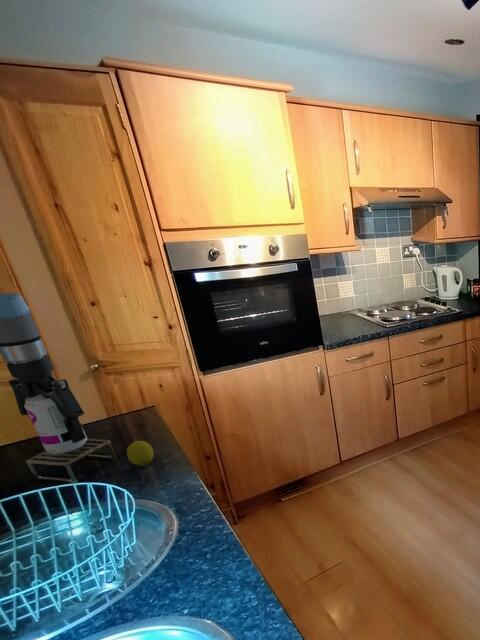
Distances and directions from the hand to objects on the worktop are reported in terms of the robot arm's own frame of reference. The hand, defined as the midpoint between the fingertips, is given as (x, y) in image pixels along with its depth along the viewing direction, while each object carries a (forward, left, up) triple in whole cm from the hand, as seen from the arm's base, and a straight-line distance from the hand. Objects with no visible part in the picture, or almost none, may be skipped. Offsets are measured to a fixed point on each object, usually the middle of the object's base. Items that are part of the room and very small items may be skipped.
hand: (64, 439), depth 118 cm
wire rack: (0, 0, -10) cm, 10 cm away
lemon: (+15, +5, -11) cm, 19 cm away
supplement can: (0, 0, -2) cm, 2 cm away
